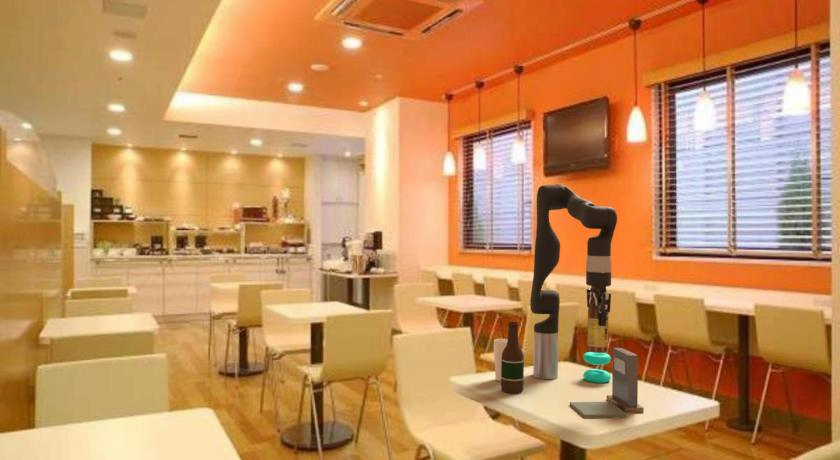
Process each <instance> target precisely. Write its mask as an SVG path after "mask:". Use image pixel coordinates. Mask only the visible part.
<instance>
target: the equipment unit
mask: <svg viewBox="0 0 840 460" xmlns="http://www.w3.org/2000/svg"><path fill="white" fill-rule="evenodd" d="M638 374H639V355H638V354H636V353H634V352H631V351H630V350H628V349H625V348H624V347H623V348H622V347H612V376H611V379H612V380H611V381H612V382H611V383H612V384H611V385H612V386H611V387H612V388H611V392H612V393H611V394H610V395H608V394H607V395H606V402H610V403H612V404H613V405H614V406H616V407H617V408H619V409H620V410H621V411H623V412H624V413H626V414H627V413H629V414H630V413H631V414H632V413H633V414H634V413H636V414H637V413H644V407H643V406H642V405H640V404H638V397H639V396H638V392H639V390H638V389H639V386H638V383H639V382H638V381H639V379H638V378H639V375H638Z"/></svg>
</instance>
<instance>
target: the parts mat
mask: <svg viewBox="0 0 840 460" xmlns="http://www.w3.org/2000/svg"><path fill="white" fill-rule="evenodd" d="M569 406H570V407H571V408H572V409H573V410H575V411H576V412H577V413H578V414H579V415H580V414H581V415H580V416H582V417H583V418H584V419H598V418H599V419H601V418H603V419H604V418H605V419H606V418H607V419H608V418H609V417H619V418H627V413H624V412H623V411H622V410H620V409H619V408H617V407H616V406H615V405H613V404H612V403H610V402H609V401H570V402H569ZM609 419H610V418H609Z"/></svg>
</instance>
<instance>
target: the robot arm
mask: <svg viewBox="0 0 840 460" xmlns="http://www.w3.org/2000/svg"><path fill="white" fill-rule="evenodd" d="M563 209H565V210H567V213H568V214H569V215H570V216H571V217H572V218H574V219H575V220H577V221H579V222H580V223H581V224H582V226H583V227H584V228H585V229H591V230H592V229H593V230H600V232H599V233H598V234H597V235H595V236H591V237H588V239H587V243H586V244H587V245H586V247H587V248H586V249H587V250H586V252H587V253H586V263H585V264H586V265H585V271H586V272H585V284H586V285H587V286H588V287H589V286H590V288H586V307H587V308H589V306H590V305H591V303H592V292H591V291H592V288H597V292H593V296H594V298H595V304H596V307H598V312H599V314H598V325H599V326H606V314H607V313H608V314H609V313H610V312H611V302H612V293H611V292H608V291H607V287H611V285H612V256H611V255H612V254H611V252H612V251H611V249H612V240H613V236H614V233H615V229H616V227H617V223H618V214H617V212H616V210H615V209H614V208H613V207H612V206H597V205H596V204H595V203H593V202H592V201H590V200H588V199H585V198H582V196H581V197H580V196H579V195H578V194H576V193H575V192H574V191H573V190H572V189H570V187H568V186H567V185H565V184H562V183H561V184H560V183H559V184H557V183H556V184H545V185H541V186H539V187H538V189H537V193H536V233H535V245H534V254H533V255H534V257H533V259H534V260H533V277H532V285H531V292H530V300H529V303H530V304H529V305H530V311H531V313H532V314H535V315H549V316H548V317H547V318H546V319H544V320H542V321H539V322H536V323H534V325H533V375H532V376H533V377H535V378H536V379H543V380H554V379H555V380H556V379H557V378H558V377H559V376H558V375H559V372H558V371H559V321H560V319H559V317H560V302H561V301H560V294H559V292H558V291H557V290H554V289H552V290H549V289H542V287H543V285H544V283H545V281H546V279H547V278H548V277H549V276H550V275H551V273H552V272H553V271H554V270H555V268H556V267H557V265H558V264H559V262H560V258H561V257H560V254H561V242H560V239H559V237H558V235H557V234H556V232H555V231H554V229H553V227H552V225H551V223H550V211H560V210H563Z"/></svg>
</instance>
